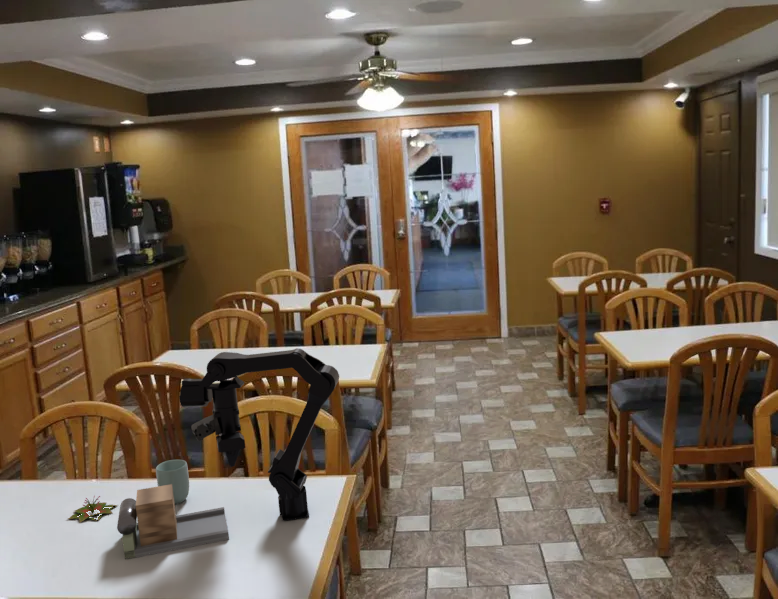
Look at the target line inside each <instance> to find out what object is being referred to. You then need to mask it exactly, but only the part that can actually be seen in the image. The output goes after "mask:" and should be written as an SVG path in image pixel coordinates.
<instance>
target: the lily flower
mask: <svg viewBox="0 0 778 599" xmlns="http://www.w3.org/2000/svg"><path fill="white" fill-rule="evenodd" d="M95 497H96V496H95V495H94V496H93V500H91V501H90V500H89V499H88V498H87V497H85V499H84V502H83V503H84V504H82V507H80V508H78V509H76V510H74V512H75V514H72V515H71V516H69V518H67V520H70V519H71V520H72V519H78V520H79V521H78V522H79V523H82V522H83V521H85V520H86V519H89V520H93V521H96V520H95V519H94V518H89V517H94V516H95V515H98V514H102V515H100V516H99V517H98V521H99V520H100V519H101V518H102V517H103V514H113V511H112V510H111V509H113V508H114V507H113V506H115V507H117V506H119V504H107V502H101V501H100V500H99V498H101V496H100V495H99V496H97V498H96V499H95ZM85 504H86V505H85ZM89 506H90V507H89ZM104 507H112V508H110V509H109V508H104ZM103 508H104V509H103ZM96 509H97V510H99V511H100V513H98V512H97V514H96V513H95V511H94V510H96ZM88 511H91V512H90V513H91V514H90V516H89V515H88V514H87V513H86V512H88ZM93 512H94V513H93ZM81 514H82V515H81ZM93 514H94V515H93ZM79 515H80V516H79ZM77 516H79V517H77Z"/></svg>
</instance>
